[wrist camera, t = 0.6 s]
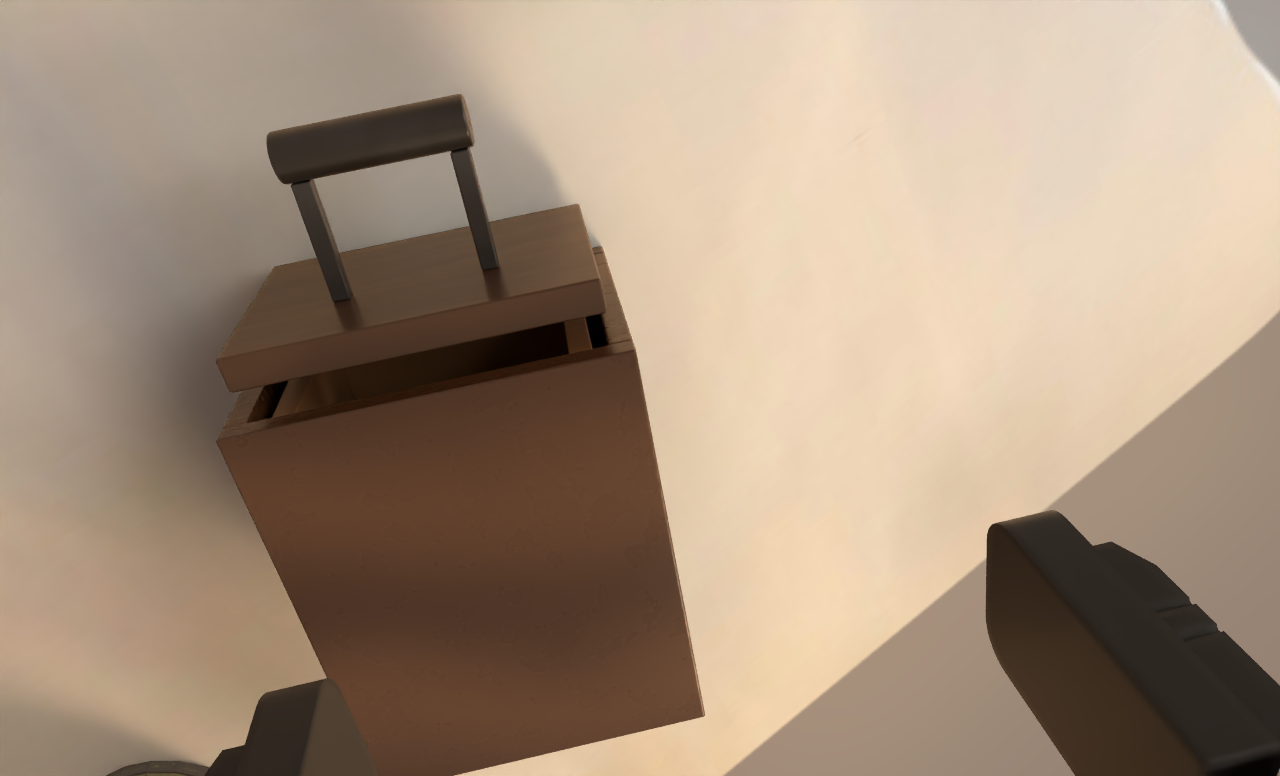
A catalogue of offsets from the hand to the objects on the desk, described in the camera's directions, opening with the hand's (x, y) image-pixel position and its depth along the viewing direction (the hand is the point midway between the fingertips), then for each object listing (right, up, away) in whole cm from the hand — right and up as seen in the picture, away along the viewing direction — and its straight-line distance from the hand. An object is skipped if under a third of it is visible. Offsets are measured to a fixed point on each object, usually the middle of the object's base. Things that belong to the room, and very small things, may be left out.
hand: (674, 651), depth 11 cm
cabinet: (-7, 0, +29) cm, 30 cm away
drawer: (-8, +5, +26) cm, 28 cm away
